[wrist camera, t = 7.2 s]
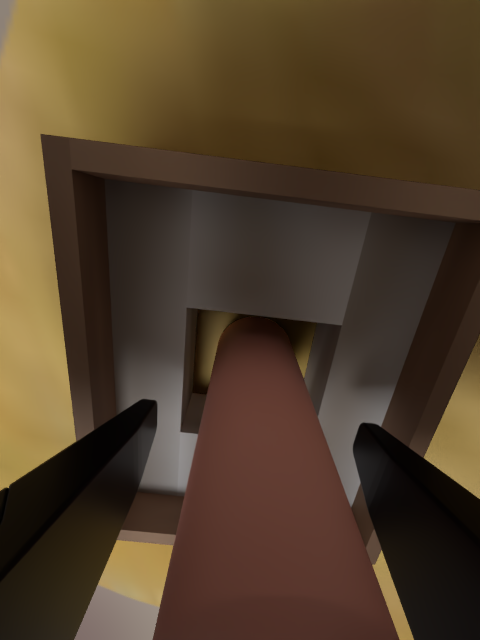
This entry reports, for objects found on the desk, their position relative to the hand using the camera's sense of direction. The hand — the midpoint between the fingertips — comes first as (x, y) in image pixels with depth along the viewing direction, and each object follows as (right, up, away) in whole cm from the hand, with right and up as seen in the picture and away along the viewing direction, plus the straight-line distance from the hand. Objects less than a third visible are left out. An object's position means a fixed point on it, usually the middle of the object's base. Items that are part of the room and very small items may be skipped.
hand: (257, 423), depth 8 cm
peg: (0, +2, +4) cm, 4 cm away
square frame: (0, +2, +4) cm, 4 cm away
